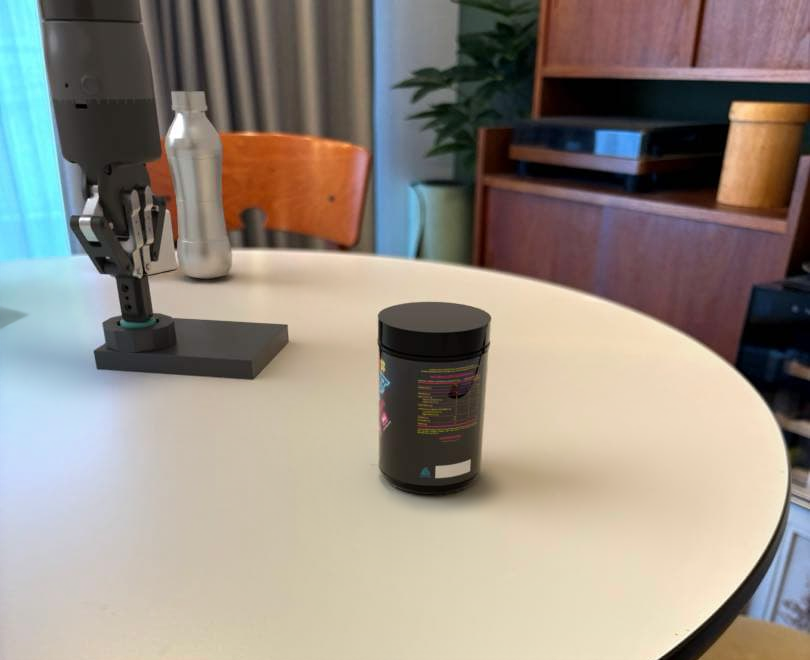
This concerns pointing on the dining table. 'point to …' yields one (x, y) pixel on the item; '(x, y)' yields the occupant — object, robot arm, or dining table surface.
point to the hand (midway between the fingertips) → (138, 320)
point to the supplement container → (432, 395)
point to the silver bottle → (197, 188)
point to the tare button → (137, 325)
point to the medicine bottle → (165, 249)
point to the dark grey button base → (191, 347)
